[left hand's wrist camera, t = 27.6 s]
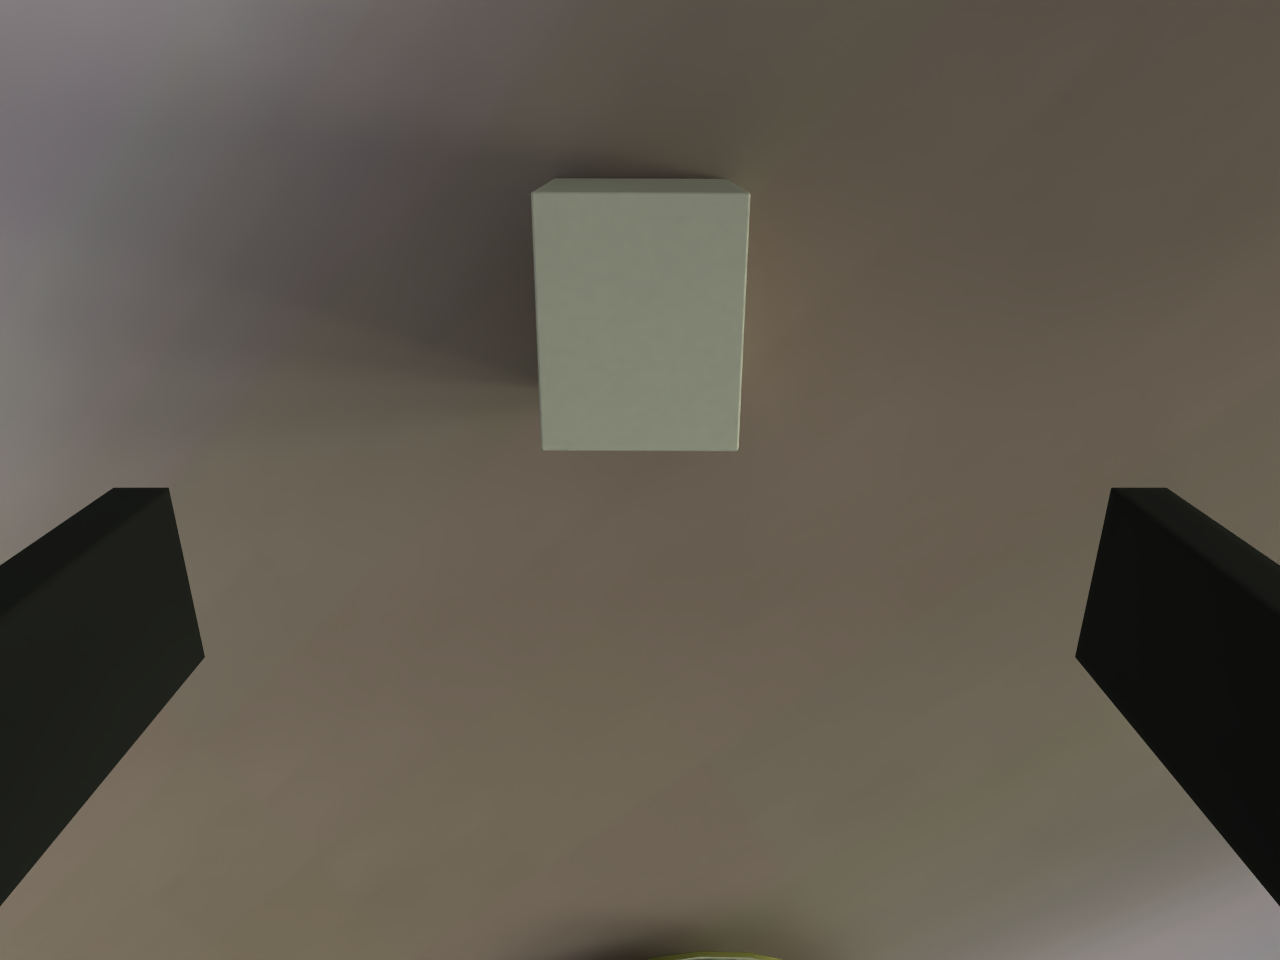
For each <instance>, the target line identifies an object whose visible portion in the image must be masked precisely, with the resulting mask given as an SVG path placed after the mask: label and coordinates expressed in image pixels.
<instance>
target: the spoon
mask: <svg viewBox="0 0 1280 960" xmlns="http://www.w3.org/2000/svg"><path fill="white" fill-rule="evenodd" d="M646 960H782V959H778V958H773V957H768V956H763V955H758V954H754V953H745V952H707V951H700V952H692V953H684V954H677V955H669V956H662V957H654V958H649V959H646Z"/></svg>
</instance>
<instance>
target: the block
mask: <svg viewBox="0 0 1280 960" xmlns="http://www.w3.org/2000/svg"><path fill="white" fill-rule="evenodd" d="M531 209H532V233H533V258H534V282H535V307H536V331H537V356H538V380H539V405H540V430H541V449H542V450H552V451H738V446H739V425H740V404H741V383H742V362H743V341H744V320H745V299H746V278H747V257H748V236H749V215H750V193H749V192H747V191H745V190H744V189H742V188H741V187H739V186H737V185H736V184H734V183H733V182H731V181H729V180H728V179H626V178H555V179H553V180H551V181H550V182H548V183H546V184H545V185H543V186H541V187H540V188H538V189H536V190H535V191H533V192H532V193H531Z"/></svg>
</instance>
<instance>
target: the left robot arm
mask: <svg viewBox="0 0 1280 960" xmlns="http://www.w3.org/2000/svg"><path fill="white" fill-rule="evenodd" d="M204 657H205V656H204V651H203V646H202V642H201V637H200V632H199V628H198V623H197V618H196V614H195V609H194V604H193V600H192V595H191V590H190V586H189V581H188V576H187V572H186V567H185V562H184V558H183V553H182V548H181V544H180V539H179V534H178V529H177V525H176V520H175V515H174V511H173V506H172V501H171V497H170V492H169V488H113V489H111V490H110V491H108V492H107V493H105V494H104V495H102V496H101V497H99V498H98V499H96V500H95V501H94V502H92V503H91V504H89V505H88V506H86V507H85V508H83V509H82V510H80V511H79V512H78V513H76V514H75V515H73V516H72V517H70V518H69V519H67V520H66V521H64V522H63V523H62V524H60V525H59V526H57V527H56V528H54V529H53V530H51V531H50V532H48V533H47V534H45V535H44V536H43V537H41V538H40V539H38V540H37V541H35V542H34V543H32V544H31V545H29V546H28V547H27V548H25V549H24V550H22V551H21V552H19V553H18V554H16V555H15V556H13V557H12V558H10V559H9V560H8V561H6V562H5V563H3V564H2V565H0V906H1V905H2V903H3V902H4V901H5V900H6V899H7V897H8V896H9V895H10V894H11V892H12V891H13V890H14V889H15V888H16V886H17V885H18V884H19V883H20V881H21V880H22V879H23V878H24V877H25V875H26V874H27V873H28V872H29V871H30V869H31V868H32V867H33V866H34V864H35V863H36V862H37V861H38V860H39V858H40V857H41V856H42V855H43V853H44V852H45V851H46V850H47V849H48V847H49V846H50V845H51V844H52V842H53V841H54V840H55V839H56V838H57V836H58V835H59V834H60V833H61V832H62V830H63V829H64V828H65V827H66V825H67V824H68V823H69V822H70V821H71V819H72V818H73V817H74V816H75V814H76V813H77V812H78V811H79V810H80V808H81V807H82V806H83V805H84V804H85V802H86V801H87V800H88V799H89V797H90V796H91V795H92V794H93V793H94V791H95V790H96V789H97V788H98V786H99V785H100V784H101V783H102V782H103V780H104V779H105V778H106V777H107V775H108V774H109V773H110V772H111V771H112V769H113V768H114V767H115V766H116V765H117V763H118V762H119V761H120V760H121V758H122V757H123V756H124V755H125V754H126V752H127V751H128V750H129V749H130V747H131V746H132V745H133V744H134V743H135V741H136V740H137V739H138V738H139V737H140V735H141V734H142V733H143V732H144V730H145V729H146V728H147V727H148V726H149V724H150V723H151V722H152V721H153V719H154V718H155V717H156V716H157V715H158V713H159V712H160V711H161V710H162V708H163V707H164V706H165V705H166V704H167V702H168V701H169V700H170V699H171V698H172V696H173V695H174V694H175V693H176V691H177V690H178V689H179V688H180V687H181V685H182V684H183V683H184V682H185V680H186V679H187V678H188V677H189V676H190V674H191V673H192V672H193V671H194V670H195V668H196V667H197V666H198V665H199V663H200V662H201V661H202V660H203V659H204ZM1075 657H1076V659H1077V660H1078V661H1079V662H1080V663H1081V665H1082V666H1083V667H1084V668H1085V670H1086V671H1087V672H1088V673H1089V674H1090V676H1091V677H1092V678H1093V679H1094V680H1095V682H1096V683H1097V684H1098V685H1099V687H1100V688H1101V689H1102V690H1103V691H1104V693H1105V694H1106V695H1107V696H1108V698H1109V699H1110V700H1111V701H1112V702H1113V704H1114V705H1115V706H1116V707H1117V708H1118V710H1119V711H1120V712H1121V713H1122V715H1123V716H1124V717H1125V718H1126V719H1127V721H1128V722H1129V723H1130V724H1131V726H1132V727H1133V728H1134V729H1135V730H1136V732H1137V733H1138V734H1139V735H1140V737H1141V738H1142V739H1143V740H1144V741H1145V743H1146V744H1147V745H1148V746H1149V747H1150V749H1151V750H1152V751H1153V752H1154V754H1155V755H1156V756H1157V757H1158V758H1159V760H1160V761H1161V762H1162V763H1163V765H1164V766H1165V767H1166V768H1167V769H1168V771H1169V772H1170V773H1171V774H1172V775H1173V777H1174V778H1175V779H1176V780H1177V782H1178V783H1179V784H1180V785H1181V786H1182V788H1183V789H1184V790H1185V791H1186V793H1187V794H1188V795H1189V796H1190V797H1191V799H1192V800H1193V801H1194V802H1195V804H1196V805H1197V806H1198V807H1199V808H1200V810H1201V811H1202V812H1203V813H1204V814H1205V816H1206V817H1207V818H1208V819H1209V821H1210V822H1211V823H1212V824H1213V825H1214V827H1215V828H1216V829H1217V830H1218V832H1219V833H1220V834H1221V835H1222V836H1223V838H1224V839H1225V840H1226V841H1227V842H1228V844H1229V845H1230V846H1231V847H1232V849H1233V850H1234V851H1235V852H1236V853H1237V855H1238V856H1239V857H1240V858H1241V860H1242V861H1243V862H1244V863H1245V864H1246V866H1247V867H1248V868H1249V869H1250V871H1251V872H1252V873H1253V874H1254V875H1255V877H1256V878H1257V879H1258V880H1259V881H1260V883H1261V884H1262V885H1263V886H1264V888H1265V889H1266V890H1267V891H1268V892H1269V894H1270V895H1271V896H1272V897H1273V899H1274V900H1275V901H1276V902H1277V903H1278V905H1279V906H1280V565H1278V564H1277V563H1275V562H1274V561H1272V560H1271V559H1270V558H1268V557H1267V556H1265V555H1264V554H1262V553H1261V552H1259V551H1258V550H1256V549H1255V548H1253V547H1252V546H1251V545H1249V544H1248V543H1246V542H1245V541H1243V540H1242V539H1240V538H1239V537H1237V536H1236V535H1235V534H1233V533H1232V532H1230V531H1229V530H1227V529H1226V528H1224V527H1223V526H1221V525H1220V524H1218V523H1217V522H1216V521H1214V520H1213V519H1211V518H1210V517H1208V516H1207V515H1205V514H1204V513H1202V512H1201V511H1200V510H1198V509H1197V508H1195V507H1194V506H1192V505H1191V504H1189V503H1188V502H1186V501H1185V500H1184V499H1182V498H1181V497H1179V496H1178V495H1176V494H1175V493H1173V492H1172V491H1170V490H1169V489H1167V488H1111V492H1110V497H1109V501H1108V506H1107V511H1106V515H1105V520H1104V525H1103V529H1102V534H1101V539H1100V544H1099V548H1098V553H1097V558H1096V562H1095V567H1094V572H1093V576H1092V581H1091V586H1090V590H1089V595H1088V600H1087V604H1086V609H1085V614H1084V618H1083V623H1082V628H1081V632H1080V637H1079V642H1078V646H1077V651H1076V656H1075Z"/></svg>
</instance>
